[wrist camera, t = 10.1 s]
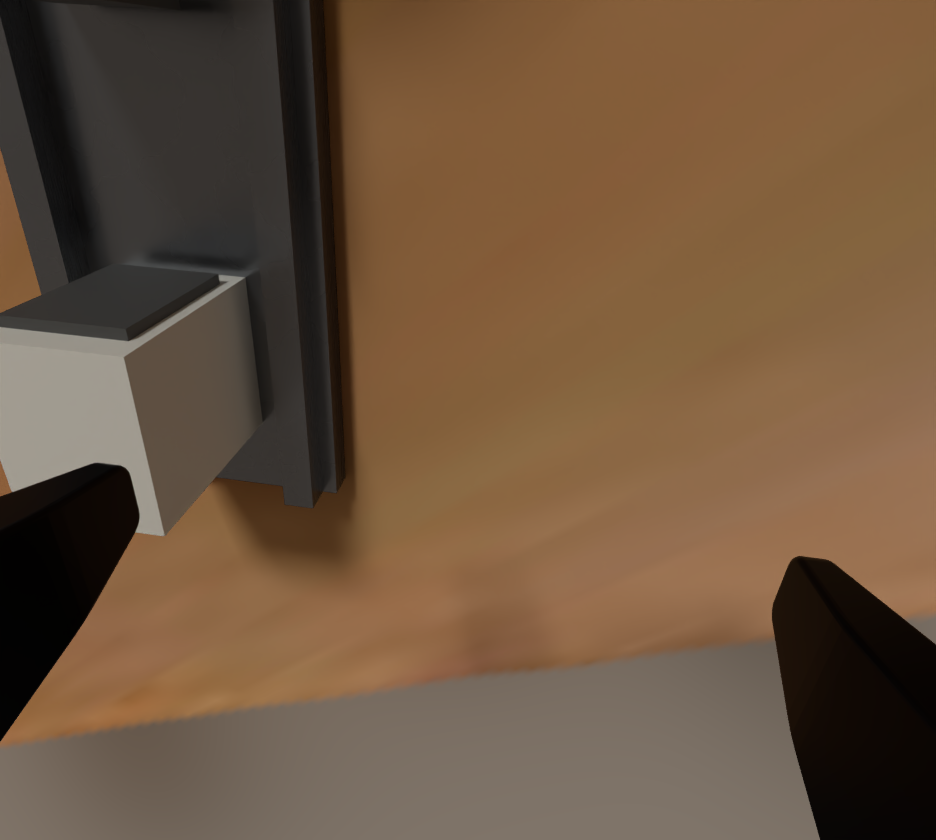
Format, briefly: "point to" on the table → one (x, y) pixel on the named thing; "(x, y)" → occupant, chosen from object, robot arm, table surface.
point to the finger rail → (192, 183)
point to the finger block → (130, 383)
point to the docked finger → (125, 3)
